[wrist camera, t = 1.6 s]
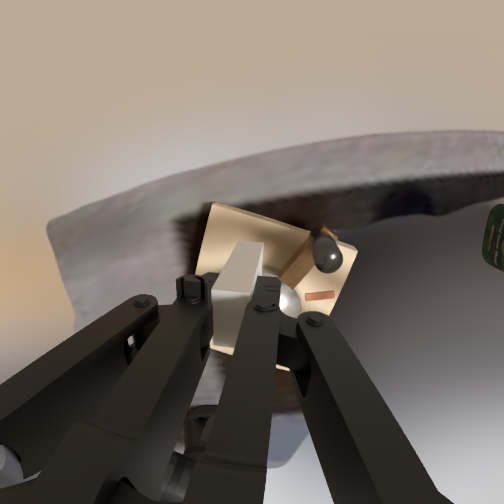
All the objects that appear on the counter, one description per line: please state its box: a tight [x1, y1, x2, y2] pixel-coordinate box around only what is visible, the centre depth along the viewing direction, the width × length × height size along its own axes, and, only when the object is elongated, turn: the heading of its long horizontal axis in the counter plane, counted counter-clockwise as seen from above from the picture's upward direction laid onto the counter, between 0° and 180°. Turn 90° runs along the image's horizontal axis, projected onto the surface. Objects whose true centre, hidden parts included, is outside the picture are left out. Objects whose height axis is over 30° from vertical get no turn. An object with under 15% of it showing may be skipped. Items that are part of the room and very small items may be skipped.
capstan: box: [262, 222, 343, 318], centre depth 30 cm, size 18×10×8 cm, turn 143°
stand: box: [195, 202, 358, 371], centre depth 37 cm, size 20×18×2 cm
